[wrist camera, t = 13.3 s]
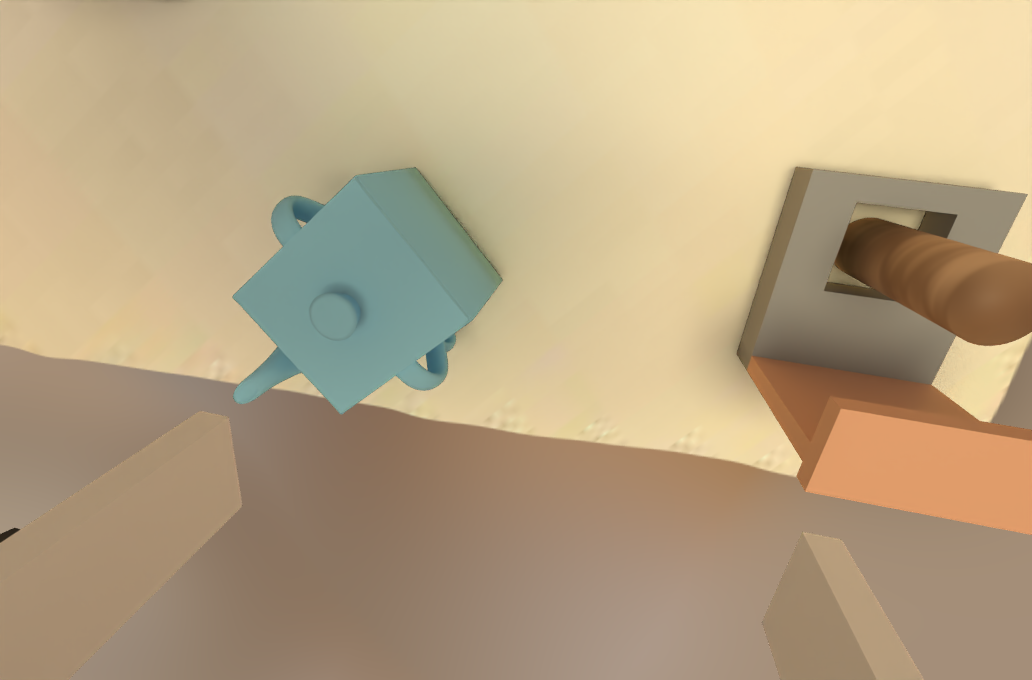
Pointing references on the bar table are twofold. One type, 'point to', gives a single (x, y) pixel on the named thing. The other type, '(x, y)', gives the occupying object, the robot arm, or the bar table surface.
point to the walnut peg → (942, 280)
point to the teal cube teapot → (365, 289)
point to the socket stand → (879, 361)
